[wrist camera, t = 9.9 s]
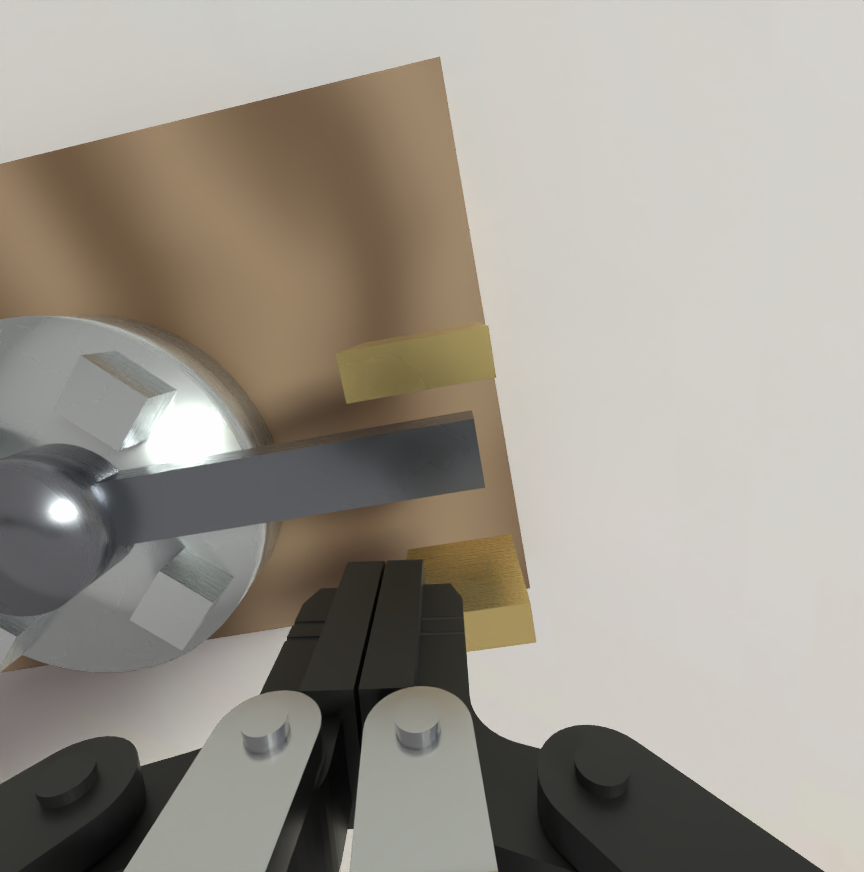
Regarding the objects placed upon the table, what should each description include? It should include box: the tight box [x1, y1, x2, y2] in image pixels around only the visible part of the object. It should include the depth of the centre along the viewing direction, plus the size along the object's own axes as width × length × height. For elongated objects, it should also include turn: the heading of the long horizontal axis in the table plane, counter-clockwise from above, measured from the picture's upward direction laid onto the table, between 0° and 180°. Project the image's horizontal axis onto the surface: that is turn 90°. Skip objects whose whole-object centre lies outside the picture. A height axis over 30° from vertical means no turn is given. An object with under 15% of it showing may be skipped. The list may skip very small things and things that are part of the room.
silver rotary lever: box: [0, 315, 536, 673], centre depth 15 cm, size 12×20×7 cm, turn 100°
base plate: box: [0, 57, 530, 673], centre depth 19 cm, size 24×18×2 cm
